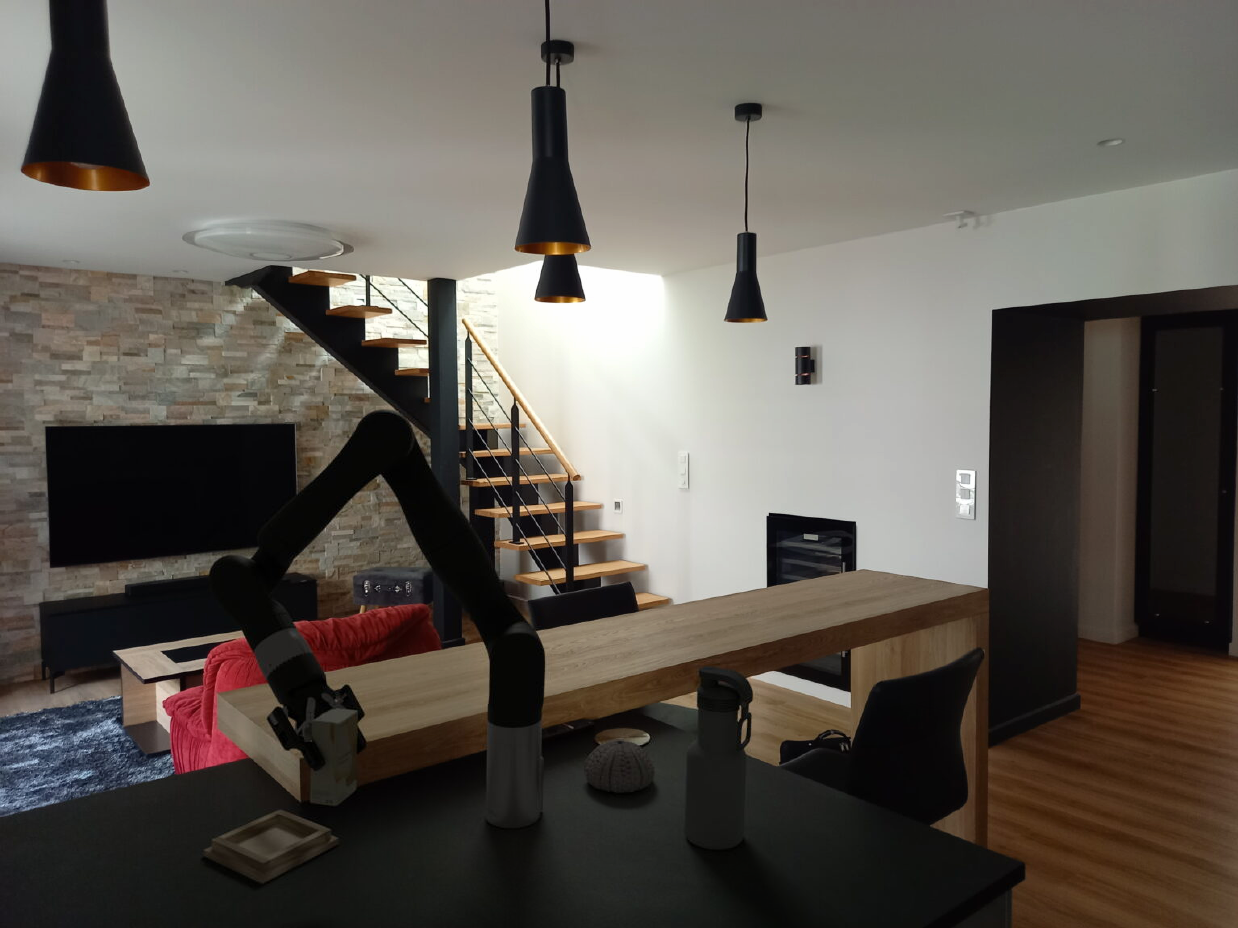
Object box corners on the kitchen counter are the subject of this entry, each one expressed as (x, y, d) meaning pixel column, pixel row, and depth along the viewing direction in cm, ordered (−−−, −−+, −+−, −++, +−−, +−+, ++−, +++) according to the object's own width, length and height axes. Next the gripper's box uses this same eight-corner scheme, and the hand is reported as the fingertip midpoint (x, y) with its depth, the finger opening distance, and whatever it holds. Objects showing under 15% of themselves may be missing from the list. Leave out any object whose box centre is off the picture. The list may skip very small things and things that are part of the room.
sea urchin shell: (572, 775, 168) (573, 735, 167) (634, 764, 174) (635, 724, 173) (602, 804, 156) (603, 760, 155) (668, 791, 162) (669, 749, 161)
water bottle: (753, 831, 147) (759, 667, 145) (735, 858, 138) (741, 684, 136) (696, 818, 151) (701, 659, 149) (675, 843, 142) (680, 674, 141)
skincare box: (336, 807, 125) (337, 724, 124) (308, 803, 126) (309, 721, 125) (358, 788, 132) (359, 709, 131) (331, 785, 132) (332, 706, 132)
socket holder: (281, 820, 147) (281, 806, 147) (338, 843, 139) (338, 828, 139) (203, 855, 135) (203, 840, 135) (262, 883, 128) (262, 867, 127)
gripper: (260, 662, 125) (314, 761, 120) (339, 641, 137) (391, 730, 132) (236, 691, 128) (288, 789, 123) (316, 668, 141) (366, 756, 135)
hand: (341, 758), depth 128 cm, fingers closed on skincare box, 7 cm apart
